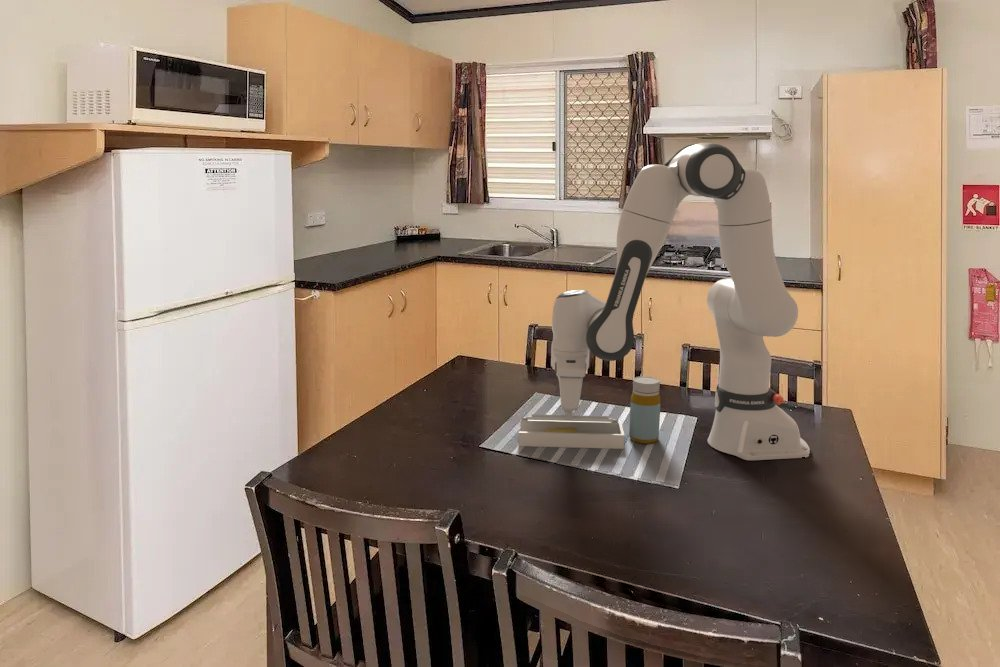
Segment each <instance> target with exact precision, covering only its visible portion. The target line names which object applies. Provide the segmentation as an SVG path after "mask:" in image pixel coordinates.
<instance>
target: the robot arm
mask: <svg viewBox="0 0 1000 667" xmlns="http://www.w3.org/2000/svg"><path fill="white" fill-rule="evenodd" d="M767 186H768V185H767V182H766V179H765V176H764V175H763V174H762V173H761V172H759V171H757V170H755V169H750V168H743V166H742V165H741V163H740V162H739V160H738V158H737V157H736V155H735V154H734V153H733V151H731V150H730V149H729V148H728V147H726V146H725V145H721V144H719V143H711V142H699V143H695V144H694V143H693V144H689V145H686V146H684V147H683V148H681V149H680V150H678V151H677V152H675V154H674V155H673V156H672V157H671V158H670V159H669V160H667V162H665V164H659V163H658V164H657V163H654V164H648V165H646V166H644V167H643V168H641V169H640V171H639V172H638V174H637V176H636V177H635V179H634V181H633V183H632V185H631V186H630V189H629V191H628V194H627V197H626V199H625V201H624V205H623V208H622V210H621V214H620V217H619V221H618V227H617V233H616V255H617V256H616V268H615V273H614V276H613V280H612V282H611V286H610V290H609V293H608V295H607V299H606V301H603V300H601V299H599V298H598V297H596V296H594V295H592V294H591V293H590V292H589V291H588V290H586V289H571V290H568V291H567V290H565V291H564V292H561V293H560V294H558V295H557V296H556V298H555V300H554V303H553V309H552V318H551V330H552V333H553V334H552V335H553V337H552V342H551V345H550V346H551V349H550V357H551V358H550V367H551V368H552V369H553V370H554V372H555V374H556V377H557V378H558V383H559V384H558V385H559V394H560V397H559V398H560V404H561V405H560V406H561V410H563V411H564V415H565V419H566V420H571V419H572V416H573V415H574V414H573V413H574V411H578V409H579V407H580V406H579V405H580V400H581V394H582V386H583V380H584V379H583V378H584V377H586V374H587V373H586V372H587V370H588V369H589V368H590V352H591V353H592V355H594V356H595V357H596V358H598V359H600V360H602V361H606V362H614V361H619V360H621V359H622V358H625V357H626V356H627V355H629V353H630V351H632V349H633V346H634V342H635V334H634V333H635V332H634V323H633V320H634V315H635V312H636V308H637V305H638V302H639V298H640V295H641V293H642V289H643V286H644V283H645V281H646V277H647V275H648V272H649V271H650V268H651V267H652V265H653V263H654V262H655V260H656V258H657V256H658V254H659V253H660V251H661V250H662V247H663V245H664V243H665V242H666V239H667V237H668V235H669V233H670V229H671V227H672V224H673V221H674V218H675V215H676V211H677V209H678V207H679V206H680V204H681V202H682V201H683V200H684V199H685V198H687V197H688V196H694V197H703V198H704V197H705V198H708V199H713V201H714V202H715V205H716V209H717V223H718V225H717V226H718V235H719V236H718V239H719V252H720V258H721V261H722V264H724V265H725V267H726V268H727V271H728V273H729V275H730V277H728V278H727V277H726V278H721V279H719V280H717V281H716V282H715V283H714V284H713V285H712V286H711V287H710V288H709V290H708V291H707V292H708V293H707V295H706V296H707V298H706V303H707V307H708V309H709V311H710V312H711V314H712V317H713V319H714V323H715V328H716V334H717V338H718V345H719V357H720V358H719V372H718V373H719V376H718V383H717V384H716V390H715V396H714V397H715V398H714V407H715V411H714V412H715V413H714V419H713V423H712V426H711V429H710V433H709V436H708V437H707V441H706V442H707V443H708V445H709V446H710V447H711V448H714V449H715V450H717V451H719V452H722V453H726V454H728V455H733V456H736V457H738V458H740V459H742V460H745V461H764V460H765V461H766V460H782V459H783V460H784V459H785V460H786V459H787V460H788V459H803V458H802V457H805V458H808V457H809V456H810V455H809V454H811V451H810V450H811V449H810V445H808V443H807V442H806V440H805V439H803V438H802V437H801V433H800V429H799V426H798V423H797V422H796V421H795V419H793V418H792V417H791V415H789V414H788V413H787V412H785V410H783V409H782V408H780V407H779V406H780V405H782V404H783V403H784V401H785V399H784V397H783V396H782V395H781V394H779V393H777V392H776V391H775V390H774V389H772V388H770V378H771V367H772V356H771V353H770V351H769V349H768V348H767V346H766V344H765V340H764V337H767V338H768V337H772V338H773V337H774V338H777V337H783V336H784V335H786V334H788V333H789V332H790V331H791V330H792V329H793V328H794V327H795V325H796V323H797V321H798V317H799V307H798V304H797V302H796V300H795V299H794V298H793V297H792V296H791V294H790V292H789V291H788V290H787V288H786V285H785V283H784V280H783V277H782V275H781V272H780V270H779V266H778V263H777V260H776V255H775V249H774V239H773V238H774V237H773V222H772V221H773V220H772V219H773V217H772V208H771V200H770V194H769V191H768V187H767Z"/></svg>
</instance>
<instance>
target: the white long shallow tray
mask: <svg viewBox="0 0 1000 667" xmlns="http://www.w3.org/2000/svg"><path fill="white" fill-rule="evenodd" d="M527 417H528V416H523V417H521V419H520V423H519V424H520V431H518V447H540V448H543V447H544V448H546V447H547V448H577V449H580V448H581V449H583V448H585V449H618V450H620V449H621V450H625V432H624V427H623V423H622V421H619V419H616V418H615V419H614V418H612V419H613V422H593V421H552V420H527ZM564 428H575V429H576V433H560V432H546V430H547V429H564Z"/></svg>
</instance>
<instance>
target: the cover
mask: <svg viewBox="0 0 1000 667" xmlns="http://www.w3.org/2000/svg"><path fill="white" fill-rule="evenodd" d="M526 417H527V420H552V421H593V422H613V419H614V418H610V417H609V415H577V414H575V415H574V414H573V416H572V419H571V420H566V419H565V414H532V413H531V415H530V416H529V415H528V416H526Z"/></svg>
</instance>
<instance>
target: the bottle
mask: <svg viewBox="0 0 1000 667" xmlns="http://www.w3.org/2000/svg"><path fill="white" fill-rule="evenodd" d="M660 387H661V386H660V379H659V378H657V377H653V376H648V375H640V376H636V377H634V378H633V380H632V394H631V396H630V404H629V405H630V408H629V409H630V410H629V429H628V430H629V431H628V432H629V434H628V436H629V439H630V440H631V441H632V442H634V443H636V444H641V445H651V444H654V443H656V442H657V441H658V440H659V437H660V420H661V419H660V418H661V397H660ZM650 443H651V444H650Z"/></svg>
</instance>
